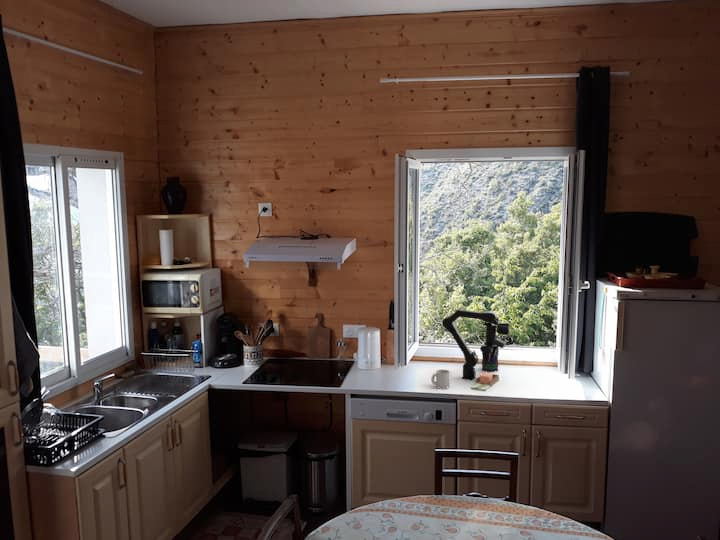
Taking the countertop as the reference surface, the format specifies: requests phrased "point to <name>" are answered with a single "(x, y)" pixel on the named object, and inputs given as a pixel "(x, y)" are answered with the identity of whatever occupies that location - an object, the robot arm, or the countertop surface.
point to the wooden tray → (484, 385)
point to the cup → (441, 378)
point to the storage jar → (490, 363)
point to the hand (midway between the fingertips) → (490, 360)
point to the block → (486, 378)
